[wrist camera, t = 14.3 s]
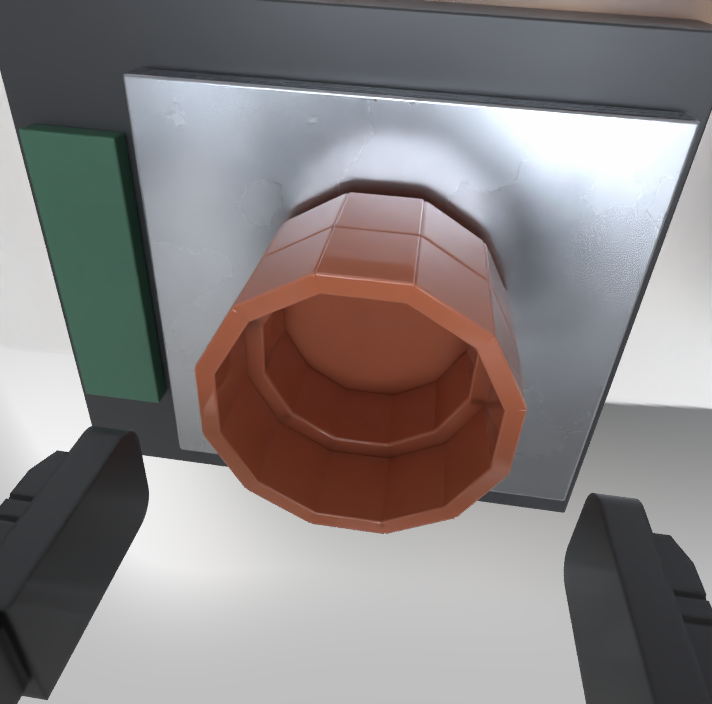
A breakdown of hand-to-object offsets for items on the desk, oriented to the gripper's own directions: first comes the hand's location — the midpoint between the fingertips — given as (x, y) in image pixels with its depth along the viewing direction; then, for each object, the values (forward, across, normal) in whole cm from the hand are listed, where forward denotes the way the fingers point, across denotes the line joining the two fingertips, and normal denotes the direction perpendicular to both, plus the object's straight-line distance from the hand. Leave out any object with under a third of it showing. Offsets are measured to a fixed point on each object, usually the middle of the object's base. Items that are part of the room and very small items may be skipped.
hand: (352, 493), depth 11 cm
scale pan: (+6, 0, 0) cm, 6 cm away
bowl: (+6, 0, -1) cm, 6 cm away
